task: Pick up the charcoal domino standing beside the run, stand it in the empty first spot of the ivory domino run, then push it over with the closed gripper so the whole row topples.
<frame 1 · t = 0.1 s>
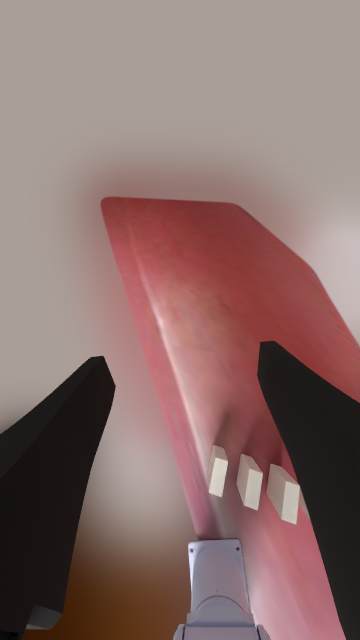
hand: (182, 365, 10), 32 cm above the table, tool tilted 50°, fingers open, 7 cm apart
ivory domino 5: (215, 460, 36), on the table
ivory domino 3: (274, 480, 35), on the table
ivory domino 4: (244, 469, 36), on the table
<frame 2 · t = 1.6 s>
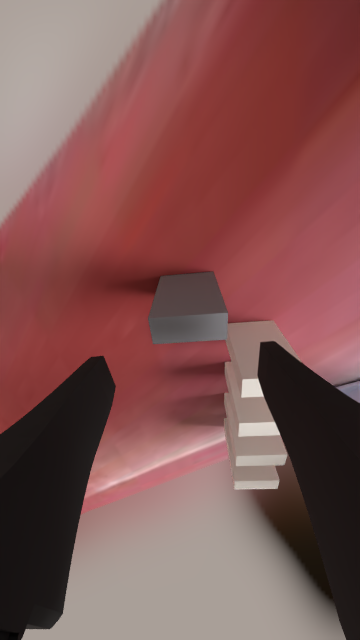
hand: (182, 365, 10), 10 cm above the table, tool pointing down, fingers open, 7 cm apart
charcoal domino: (187, 284, 18), on the table
ivory domino 5: (240, 421, 28), on the table
ivory domino 2: (248, 329, 20), on the table
ivory domino 3: (245, 367, 23), on the table
ivory domino 4: (242, 397, 25), on the table
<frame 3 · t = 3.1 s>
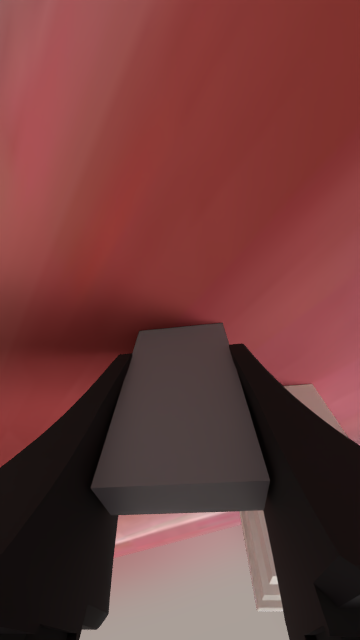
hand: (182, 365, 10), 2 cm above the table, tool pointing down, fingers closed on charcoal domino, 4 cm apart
charcoal domino: (182, 340, 12), on the table, touching gripper
ivory domino 5: (259, 491, 21), on the table
ivory domino 2: (274, 396, 14), on the table
ivory domino 3: (267, 437, 16), on the table
ivory domino 4: (262, 468, 19), on the table
when the fingers open (3 cm above the table, at t = 6.6 s): charcoal domino drops 1 cm, on the table.
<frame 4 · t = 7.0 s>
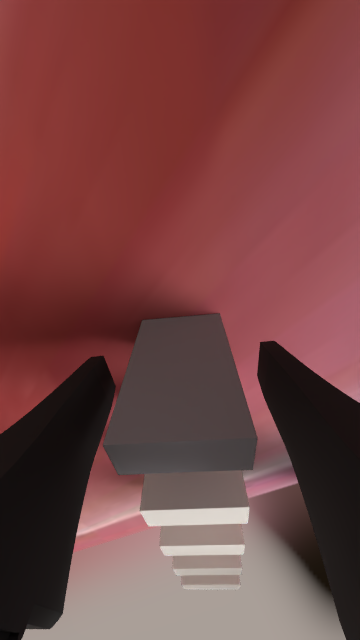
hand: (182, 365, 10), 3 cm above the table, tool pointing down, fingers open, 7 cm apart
charcoal domino: (182, 329, 12), on the table
ivory domino 5: (203, 481, 22), on the table
ivory domino 2: (190, 386, 15), on the table
ivory domino 3: (196, 426, 17), on the table
ivory domino 4: (200, 457, 20), on the table
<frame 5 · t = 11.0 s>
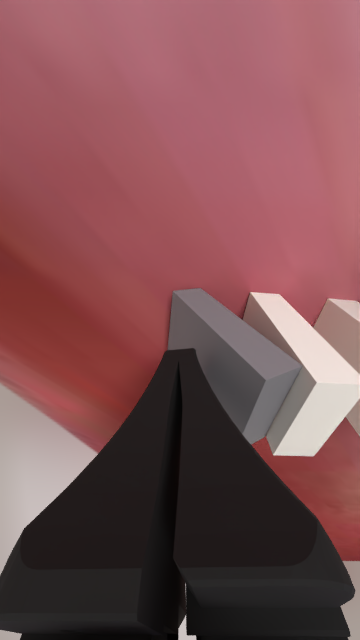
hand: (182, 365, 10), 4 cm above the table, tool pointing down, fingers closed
charcoal domino: (182, 321, 13), on the table, tilted 27°, touching ivory domino 2
ivory domino 2: (254, 324, 14), on the table, touching charcoal domino
ivory domino 3: (326, 329, 14), on the table
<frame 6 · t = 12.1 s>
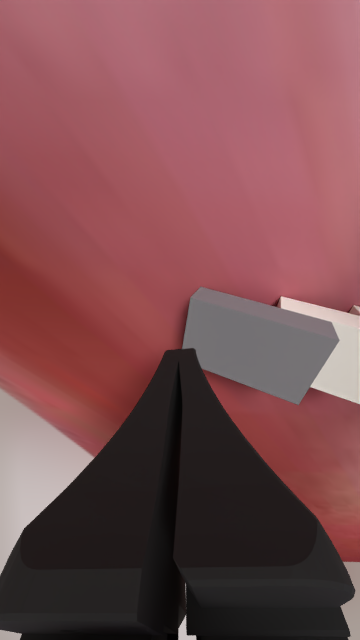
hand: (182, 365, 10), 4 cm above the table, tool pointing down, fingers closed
charcoal domino: (190, 324, 13), point 1 cm above the table, tilted 68°, touching ivory domino 2
ivory domino 2: (268, 333, 13), point 1 cm above the table, tilted 68°, touching charcoal domino, ivory domino 3
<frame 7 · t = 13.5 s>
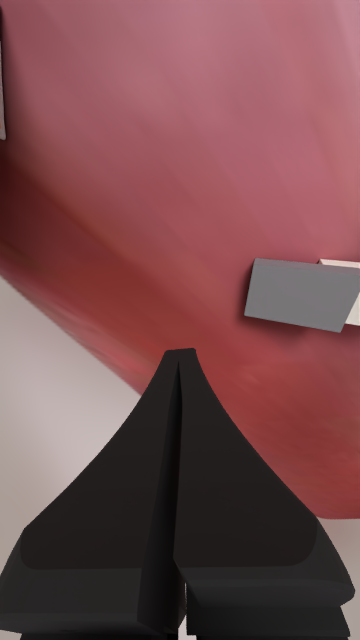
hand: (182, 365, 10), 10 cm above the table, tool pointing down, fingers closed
charcoal domino: (249, 287, 18), point 1 cm above the table, tilted 70°, touching ivory domino 2
ivory domino 2: (312, 288, 18), point 1 cm above the table, tilted 69°, touching charcoal domino, ivory domino 3
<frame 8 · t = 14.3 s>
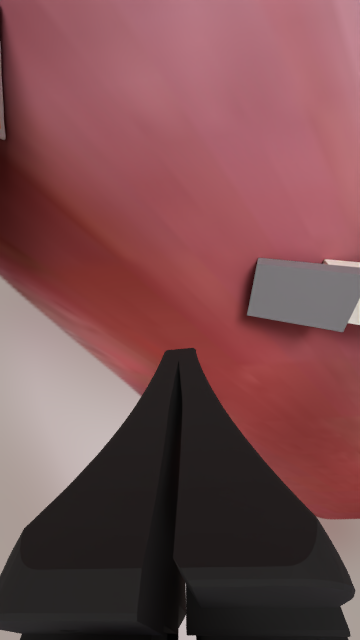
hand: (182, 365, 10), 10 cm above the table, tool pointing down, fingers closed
charcoal domino: (252, 287, 18), point 1 cm above the table, tilted 70°, touching ivory domino 2
ivory domino 2: (316, 288, 18), point 1 cm above the table, tilted 70°, touching charcoal domino, ivory domino 3
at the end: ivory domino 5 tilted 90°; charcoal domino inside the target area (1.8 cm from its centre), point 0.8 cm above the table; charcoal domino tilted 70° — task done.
